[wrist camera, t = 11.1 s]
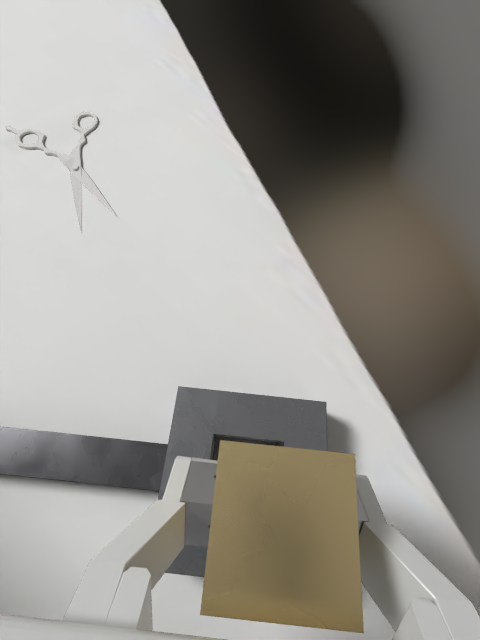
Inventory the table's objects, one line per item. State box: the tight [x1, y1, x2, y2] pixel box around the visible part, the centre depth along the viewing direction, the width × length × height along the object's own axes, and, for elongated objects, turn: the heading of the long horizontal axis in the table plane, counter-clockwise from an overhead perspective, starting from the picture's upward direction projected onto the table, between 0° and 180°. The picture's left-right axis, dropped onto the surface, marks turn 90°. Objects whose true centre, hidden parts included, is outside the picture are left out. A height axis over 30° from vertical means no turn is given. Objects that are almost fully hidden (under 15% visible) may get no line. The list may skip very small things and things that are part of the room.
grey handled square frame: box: [0, 386, 327, 577], centre depth 22 cm, size 11×29×4 cm, turn 84°
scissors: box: [5, 112, 116, 231], centre depth 36 cm, size 11×1×20 cm
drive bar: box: [200, 440, 364, 633], centre depth 10 cm, size 3×3×8 cm
